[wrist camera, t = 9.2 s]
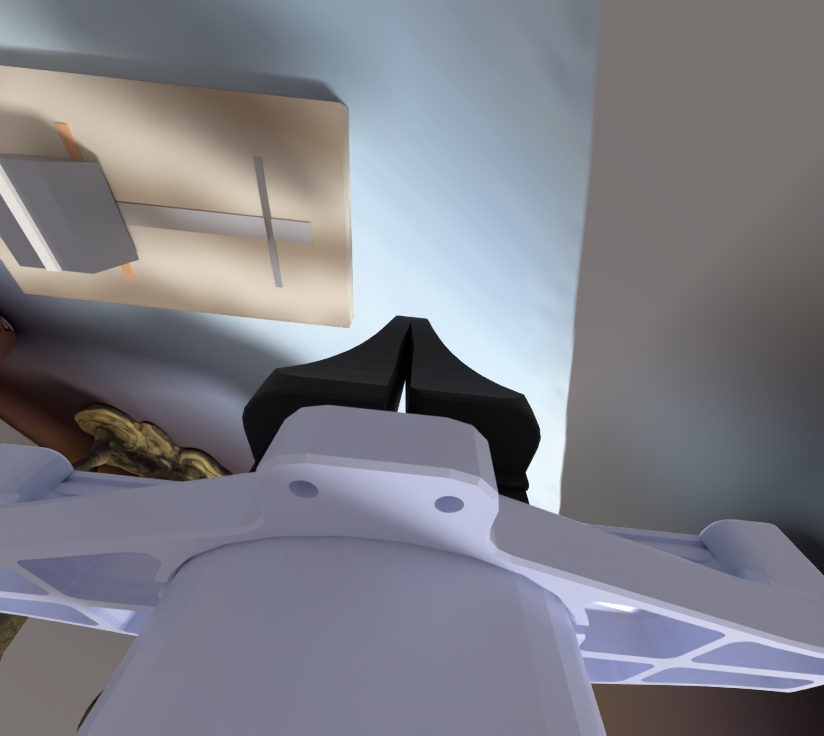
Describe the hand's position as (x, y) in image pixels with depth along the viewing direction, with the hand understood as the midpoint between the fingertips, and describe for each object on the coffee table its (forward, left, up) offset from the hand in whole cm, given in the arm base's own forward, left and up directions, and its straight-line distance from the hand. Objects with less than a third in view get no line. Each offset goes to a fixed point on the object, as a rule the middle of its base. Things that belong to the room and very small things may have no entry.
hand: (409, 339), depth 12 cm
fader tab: (+2, +19, -7) cm, 21 cm away
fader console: (+2, +16, -9) cm, 19 cm away
